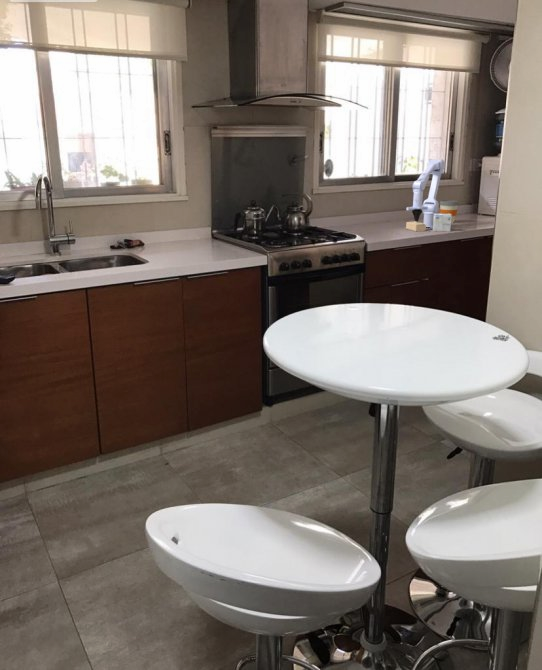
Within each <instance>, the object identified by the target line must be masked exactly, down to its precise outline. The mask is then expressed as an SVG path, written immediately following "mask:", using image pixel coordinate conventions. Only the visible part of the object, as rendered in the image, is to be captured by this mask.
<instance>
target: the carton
mask: <svg viewBox="0 0 542 670" xmlns="http://www.w3.org/2000/svg"><path fill="white" fill-rule="evenodd" d="M408 229H409V231H411V230H413V231H412V232H415V231H421V232H426V229H427V228H426V225H413V224H409V223H407V222H406V223H405V230H408Z"/></svg>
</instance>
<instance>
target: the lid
mask: <svg viewBox="0 0 542 670" xmlns="http://www.w3.org/2000/svg"><path fill="white" fill-rule="evenodd" d="M406 223H409V224H413V225H425V224H424V223H423V222H420V221H417V222H416V221H415V220H414V221H406Z"/></svg>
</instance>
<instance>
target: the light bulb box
mask: <svg viewBox="0 0 542 670" xmlns="http://www.w3.org/2000/svg"><path fill="white" fill-rule="evenodd" d="M451 227H452V223H451V214H440V213H436V214H434V217H433V228H432V231H433V232H451Z"/></svg>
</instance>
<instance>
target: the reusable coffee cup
mask: <svg viewBox="0 0 542 670" xmlns="http://www.w3.org/2000/svg"><path fill="white" fill-rule="evenodd" d="M439 205H440V206H439V207H440V208H439V214H451V222H454V223H455V220H456V216H457V213H458V206H459V201H458V200H453V199H449V200H448V199H444V200H440V203H439Z"/></svg>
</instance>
